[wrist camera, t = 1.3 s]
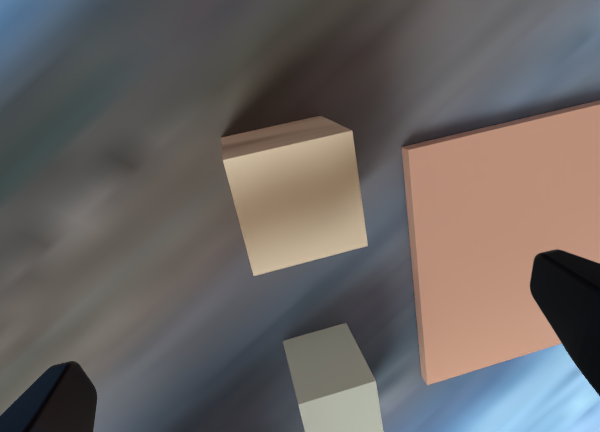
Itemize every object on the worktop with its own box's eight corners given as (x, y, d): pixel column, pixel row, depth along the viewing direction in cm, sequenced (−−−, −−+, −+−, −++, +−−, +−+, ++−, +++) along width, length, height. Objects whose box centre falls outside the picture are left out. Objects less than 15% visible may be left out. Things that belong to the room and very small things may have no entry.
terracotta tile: (590, 324, 29) (600, 331, 28) (421, 376, 27) (427, 385, 27) (616, 96, 23) (630, 97, 22) (401, 147, 21) (408, 150, 20)
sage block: (358, 394, 27) (387, 462, 22) (300, 412, 26) (318, 485, 22) (345, 321, 25) (375, 380, 20) (282, 339, 24) (298, 404, 20)
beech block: (335, 207, 22) (367, 245, 17) (245, 230, 21) (253, 275, 17) (320, 115, 20) (352, 130, 15) (220, 137, 19) (222, 160, 15)
